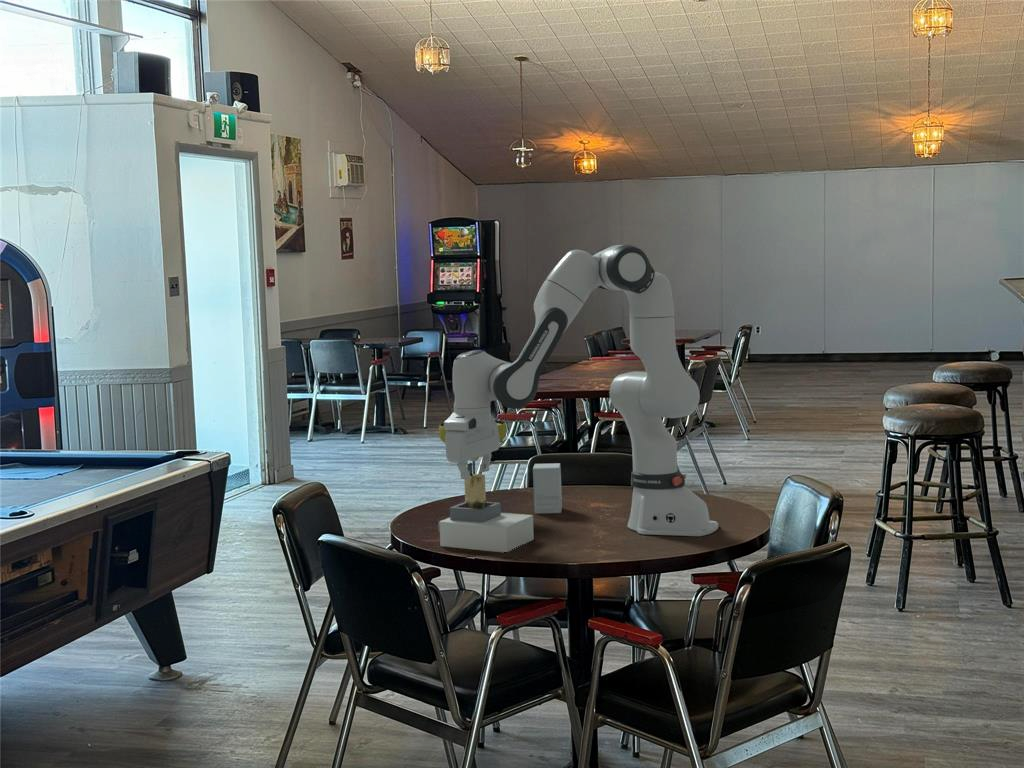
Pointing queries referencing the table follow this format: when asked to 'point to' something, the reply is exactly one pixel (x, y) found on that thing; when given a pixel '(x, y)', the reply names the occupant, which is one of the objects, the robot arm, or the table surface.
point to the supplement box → (547, 488)
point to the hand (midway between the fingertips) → (475, 475)
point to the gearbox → (485, 528)
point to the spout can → (475, 490)
